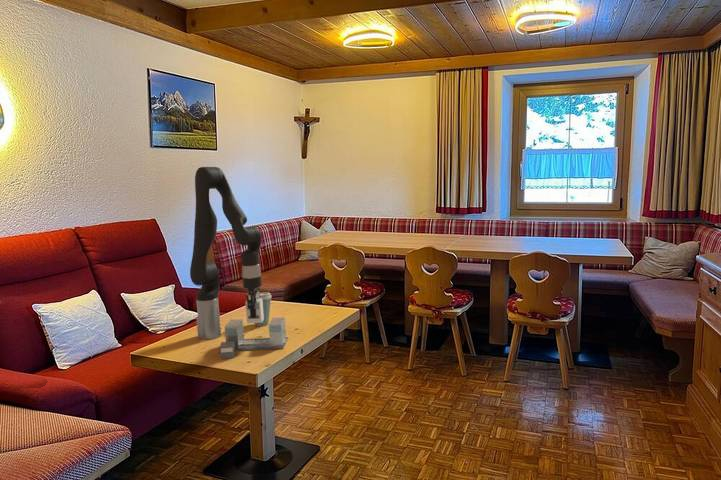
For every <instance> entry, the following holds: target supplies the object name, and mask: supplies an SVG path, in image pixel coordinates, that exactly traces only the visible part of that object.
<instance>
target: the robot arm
mask: <svg viewBox="0 0 721 480" xmlns="http://www.w3.org/2000/svg"><path fill="white" fill-rule="evenodd" d="M194 175H195V176H194V188H195V191H194V192H195V215H194V216H195V217H194V230H193V231H194V232H193V234H194V236H193V246H192V247H193V249H192V257H191V262H190V268H189V277H190V280H191V282H192V283H193V284H194V285H195V286H201V288H200V289H199V290H198V291H197V292H196V294H195V299H196V310H197V317H196V331H197V339H201V340H212V339H216V338H219V337H222V328H221V320H220V319H221V317H220V307H219V306H220V305H219V292H220V276H219V275H220V274H219V269H218V267H217V265H216V264H215V263H214V262H212V261H208V260H207V258H208V254H209V252H210V249H211V248H212V245H213V244H214V241H215V240H216V237H217V232H218V231H217V230H218V218H217V215H216V214H215V211H214V209H213V207H212V205H211V203H210V189H211V190H212V189H213V190H214V189H215V190H216V191H217V192H218V193H219V195H220V196H221V206H222V207H221V208H222V212H223V214H224V216H225V218H226V219H227V221H228V223H229V224H230V225H231V230H232V232H233V236H234V239H235V241H236V242H237V244H238V245H241V246H247V245H248V246H247V249H245V250H243V251H242V252H241V257H240V258H241V277H242V287H243V288H244V289H248V292H246V293H247V294H246V301H247V304H248V309H250V317H251V318H256V305H255V304H256V303H257V299H260V295H259V293H260V287H262V285H263V284H262V283H263V282H262V271H261V266H260V249H261V244H262V232H261V230H260V229H259V228H258V227H257V226H248V227H245V225H246V223H247V222H248V218H247V216H246V214H245V212H244V211H243V209H242V208H241V207H240V204H238V201H237V200H236V198H235V196H234V194H233V190H232V189H231V186H230V184H229V182H228V179H227V177H226V175H225V173H224V172H223V170H222V169H221V168H220V167H217V166H200V167H198V169H197V170H196V171H195V174H194ZM254 300H255V301H254ZM251 303H252V305H253V306H251Z"/></svg>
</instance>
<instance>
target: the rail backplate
mask: <svg viewBox="0 0 721 480" xmlns="http://www.w3.org/2000/svg"><path fill="white" fill-rule="evenodd" d="M243 319H244V318H243ZM243 319H241V318H239V319H236V318H235V319H230V320H229V321H227V323H226V324H225V325H224V334H225V335H224V337H225V342H230V341H234V345H235V352H238V351H240V352H241V351H260V350H283V349H285V346H286V344H287V342H288V340H289V338H288V336H287V331H286V318H285V317H272V318H271V320H270V321H269V322H268V332H269V333H268V334H269V336H268V337H261V338H259V337H258V338H245V335H244V334H245V333H244V323H243Z"/></svg>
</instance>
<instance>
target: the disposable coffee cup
mask: <svg viewBox="0 0 721 480" xmlns="http://www.w3.org/2000/svg"><path fill="white" fill-rule="evenodd" d="M259 295H260V298H262V300H263V313H264V320H263V321H262V323H253V324H254V326H256V327H262V326H263V327H264V326H267V325H268V326H269V323H270V314H271V304H272V303H271V301H272V294H271V293H270V292H259Z"/></svg>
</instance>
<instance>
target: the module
mask: <svg viewBox="0 0 721 480" xmlns="http://www.w3.org/2000/svg"><path fill="white" fill-rule="evenodd" d="M254 301H255V300H254ZM255 305H256V318H251V317H250V309H248V304H247V300H246V301H245V314H246V315H245V316H246V324H254V323H262V321H263V320H264V313H263V300H262V298H260V299H257V303H256V304H255ZM251 306H253V305H252V303H251Z"/></svg>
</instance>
